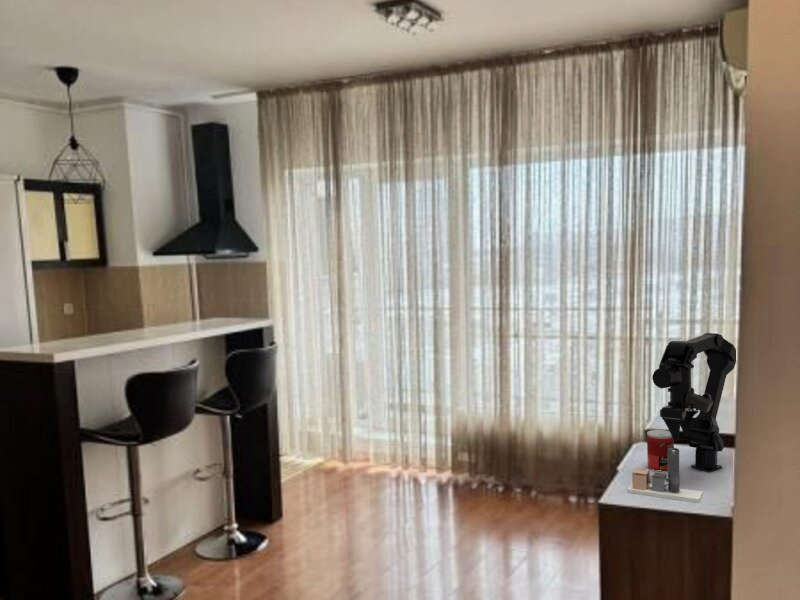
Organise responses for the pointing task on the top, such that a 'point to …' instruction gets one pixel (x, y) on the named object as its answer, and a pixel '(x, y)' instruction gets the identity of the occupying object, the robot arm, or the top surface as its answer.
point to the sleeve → (658, 482)
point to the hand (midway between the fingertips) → (680, 437)
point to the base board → (670, 494)
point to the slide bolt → (671, 471)
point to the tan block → (640, 478)
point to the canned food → (658, 449)
